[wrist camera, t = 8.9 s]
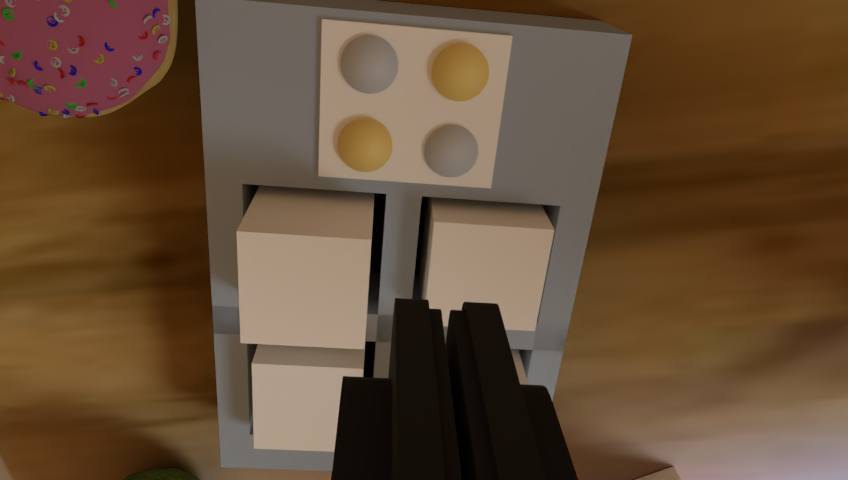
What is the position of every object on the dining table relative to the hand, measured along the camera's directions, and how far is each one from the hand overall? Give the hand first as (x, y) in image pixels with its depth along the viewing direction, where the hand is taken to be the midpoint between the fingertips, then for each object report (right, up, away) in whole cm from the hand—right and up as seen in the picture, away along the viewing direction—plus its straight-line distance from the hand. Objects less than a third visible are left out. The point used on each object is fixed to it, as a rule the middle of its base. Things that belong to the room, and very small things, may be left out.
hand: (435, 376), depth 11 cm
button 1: (-5, +2, +19) cm, 20 cm away
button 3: (+2, +3, +22) cm, 22 cm away
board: (-2, +2, +22) cm, 23 cm away
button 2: (-6, -4, +24) cm, 25 cm away
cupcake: (-14, +13, +17) cm, 25 cm away
